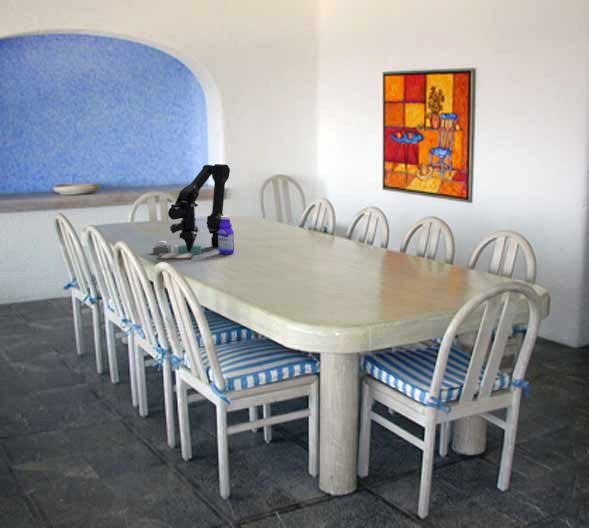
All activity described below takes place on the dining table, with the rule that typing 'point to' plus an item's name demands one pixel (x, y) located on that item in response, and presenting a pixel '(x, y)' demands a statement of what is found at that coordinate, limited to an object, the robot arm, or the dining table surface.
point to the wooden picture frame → (175, 255)
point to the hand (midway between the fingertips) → (189, 250)
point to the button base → (161, 249)
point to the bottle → (225, 236)
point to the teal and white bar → (183, 249)
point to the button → (161, 243)
